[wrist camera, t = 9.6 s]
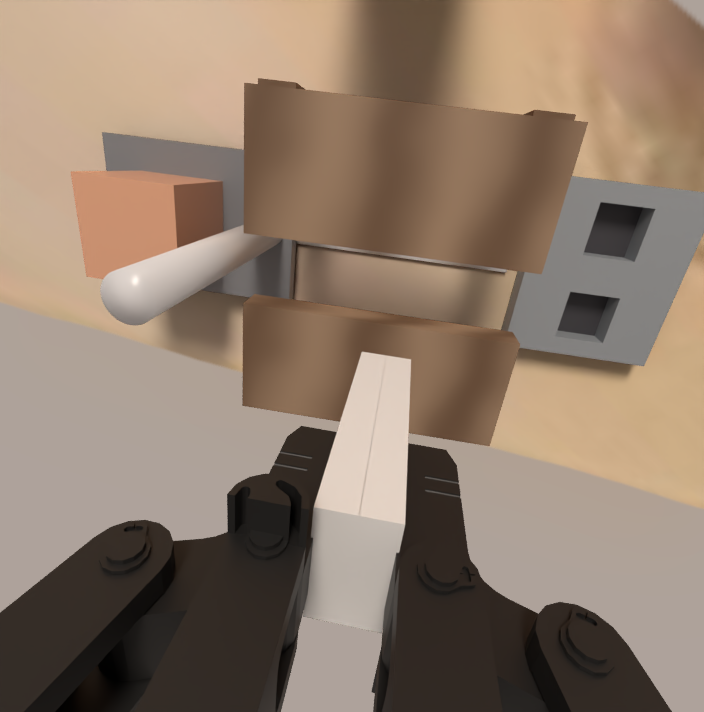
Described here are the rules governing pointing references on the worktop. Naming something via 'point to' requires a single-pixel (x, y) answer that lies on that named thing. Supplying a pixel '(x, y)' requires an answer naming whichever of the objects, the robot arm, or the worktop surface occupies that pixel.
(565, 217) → the pit plate
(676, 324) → the worktop surface
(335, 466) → the robot arm
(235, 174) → the white lever handle
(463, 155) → the wooden rack
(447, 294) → the worktop surface
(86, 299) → the worktop surface
